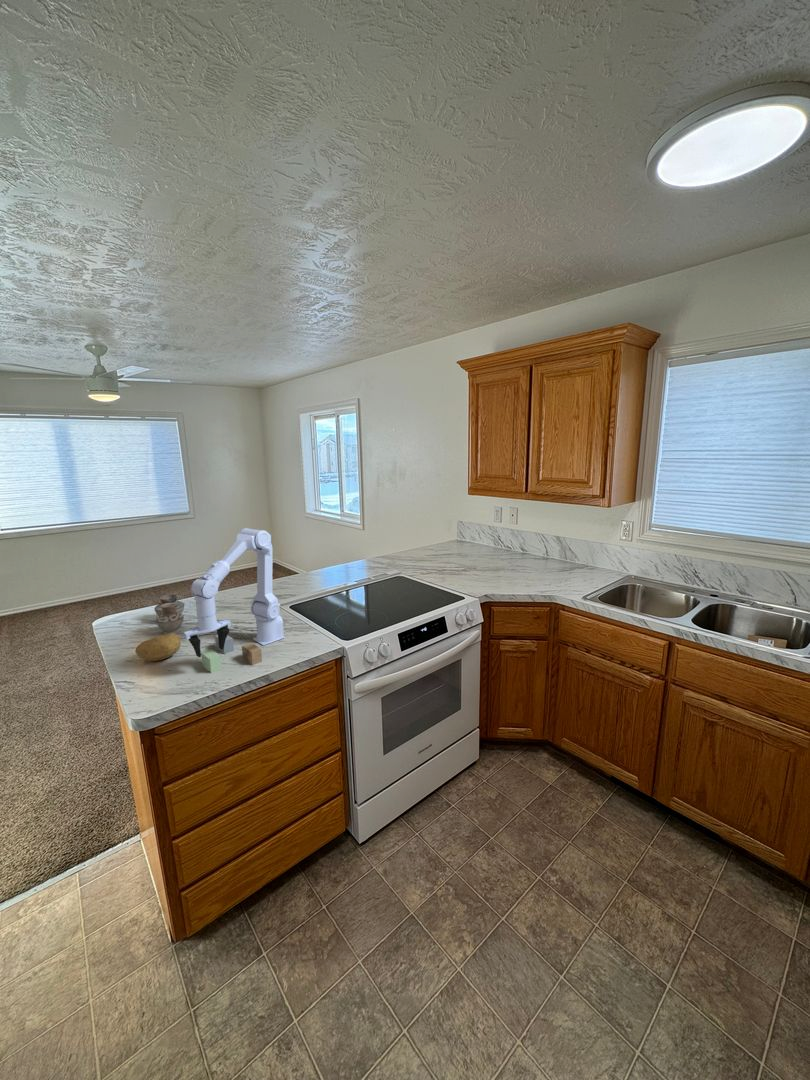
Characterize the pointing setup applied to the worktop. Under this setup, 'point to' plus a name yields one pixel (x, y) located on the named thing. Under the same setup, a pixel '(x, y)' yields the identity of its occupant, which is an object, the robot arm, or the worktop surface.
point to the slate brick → (227, 646)
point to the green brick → (211, 660)
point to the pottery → (169, 614)
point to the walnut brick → (251, 653)
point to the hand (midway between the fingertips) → (210, 652)
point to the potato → (158, 647)
